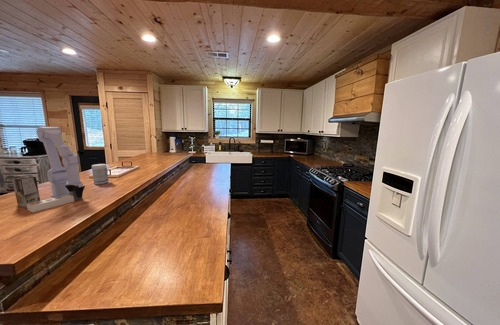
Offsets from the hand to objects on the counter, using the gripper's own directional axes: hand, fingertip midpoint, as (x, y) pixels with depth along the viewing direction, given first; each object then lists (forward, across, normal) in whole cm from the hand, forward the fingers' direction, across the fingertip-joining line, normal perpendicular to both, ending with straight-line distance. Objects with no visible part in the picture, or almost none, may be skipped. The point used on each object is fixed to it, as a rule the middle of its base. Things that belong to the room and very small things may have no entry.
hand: (76, 196), depth 125 cm
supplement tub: (+2, -25, +28) cm, 38 cm away
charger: (+1, 0, -1) cm, 2 cm away
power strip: (+2, 0, -12) cm, 12 cm away
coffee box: (+2, -13, -17) cm, 22 cm away
